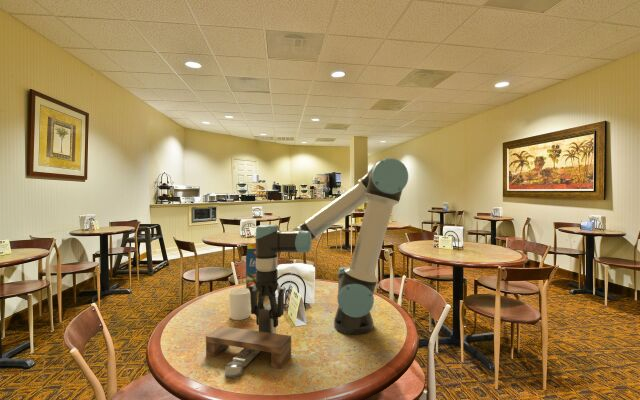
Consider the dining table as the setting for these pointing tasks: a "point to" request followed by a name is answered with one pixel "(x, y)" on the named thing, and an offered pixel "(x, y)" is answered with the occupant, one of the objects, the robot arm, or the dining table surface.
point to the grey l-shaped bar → (264, 326)
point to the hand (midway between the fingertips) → (267, 334)
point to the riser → (250, 343)
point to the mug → (240, 304)
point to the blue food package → (251, 265)
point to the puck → (234, 369)
